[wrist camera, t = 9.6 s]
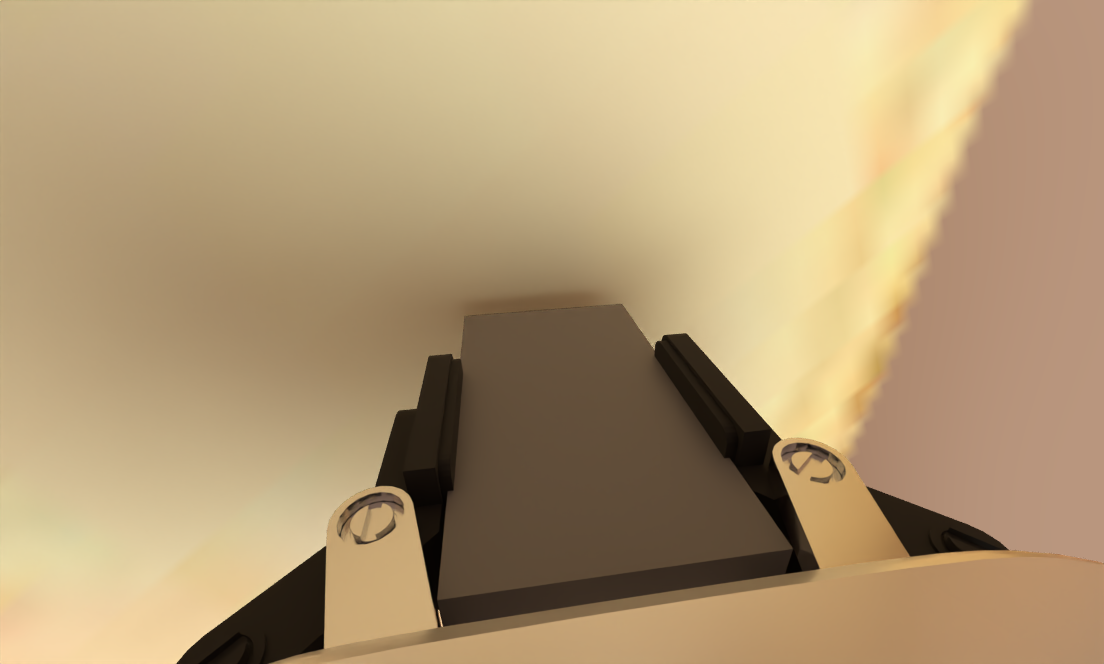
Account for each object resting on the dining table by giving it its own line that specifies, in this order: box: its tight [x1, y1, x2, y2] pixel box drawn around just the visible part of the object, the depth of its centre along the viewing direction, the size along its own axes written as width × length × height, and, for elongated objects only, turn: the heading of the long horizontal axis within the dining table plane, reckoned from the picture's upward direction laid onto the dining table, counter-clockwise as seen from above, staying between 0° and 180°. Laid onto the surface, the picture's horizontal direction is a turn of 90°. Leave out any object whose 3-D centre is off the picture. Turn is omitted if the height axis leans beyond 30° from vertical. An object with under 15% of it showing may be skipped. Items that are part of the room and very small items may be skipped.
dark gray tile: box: [437, 304, 793, 627], centre depth 11 cm, size 2×5×9 cm, turn 91°
